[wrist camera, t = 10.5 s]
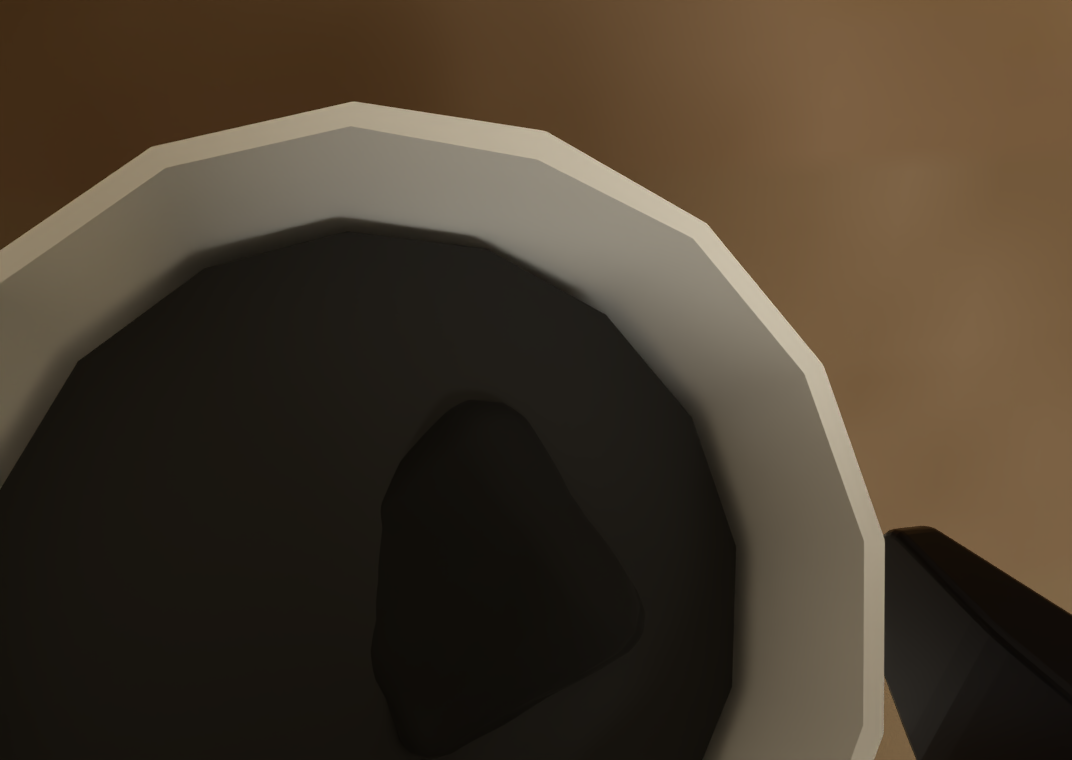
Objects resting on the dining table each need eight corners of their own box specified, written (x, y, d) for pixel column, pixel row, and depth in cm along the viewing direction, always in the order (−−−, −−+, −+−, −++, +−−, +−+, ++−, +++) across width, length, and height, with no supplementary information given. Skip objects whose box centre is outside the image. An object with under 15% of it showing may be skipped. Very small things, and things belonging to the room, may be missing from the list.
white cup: (415, 280, 17) (592, -44, 7) (613, 634, 17) (1054, 775, 7) (19, 482, 15) (-441, 400, 5) (241, 878, 15) (172, 1499, 5)
